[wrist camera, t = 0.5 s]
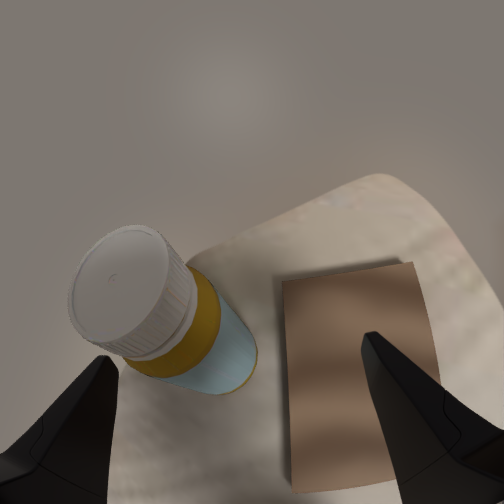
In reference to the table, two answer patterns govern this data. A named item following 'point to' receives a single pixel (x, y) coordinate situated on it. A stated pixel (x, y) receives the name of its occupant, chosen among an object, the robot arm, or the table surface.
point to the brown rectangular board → (346, 370)
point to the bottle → (159, 313)
